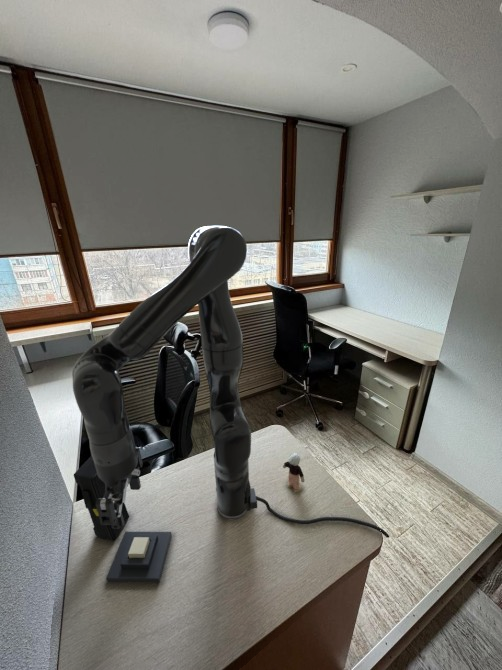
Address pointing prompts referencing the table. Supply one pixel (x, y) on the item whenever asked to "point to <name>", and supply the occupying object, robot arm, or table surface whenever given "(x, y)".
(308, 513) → the table surface
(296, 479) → the grandmother figurine
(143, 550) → the key
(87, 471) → the portable radio
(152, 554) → the push button
